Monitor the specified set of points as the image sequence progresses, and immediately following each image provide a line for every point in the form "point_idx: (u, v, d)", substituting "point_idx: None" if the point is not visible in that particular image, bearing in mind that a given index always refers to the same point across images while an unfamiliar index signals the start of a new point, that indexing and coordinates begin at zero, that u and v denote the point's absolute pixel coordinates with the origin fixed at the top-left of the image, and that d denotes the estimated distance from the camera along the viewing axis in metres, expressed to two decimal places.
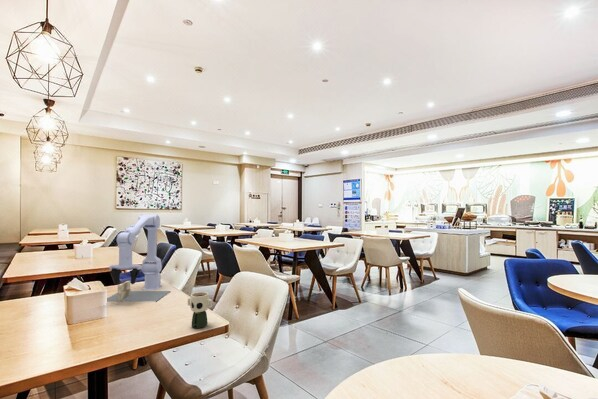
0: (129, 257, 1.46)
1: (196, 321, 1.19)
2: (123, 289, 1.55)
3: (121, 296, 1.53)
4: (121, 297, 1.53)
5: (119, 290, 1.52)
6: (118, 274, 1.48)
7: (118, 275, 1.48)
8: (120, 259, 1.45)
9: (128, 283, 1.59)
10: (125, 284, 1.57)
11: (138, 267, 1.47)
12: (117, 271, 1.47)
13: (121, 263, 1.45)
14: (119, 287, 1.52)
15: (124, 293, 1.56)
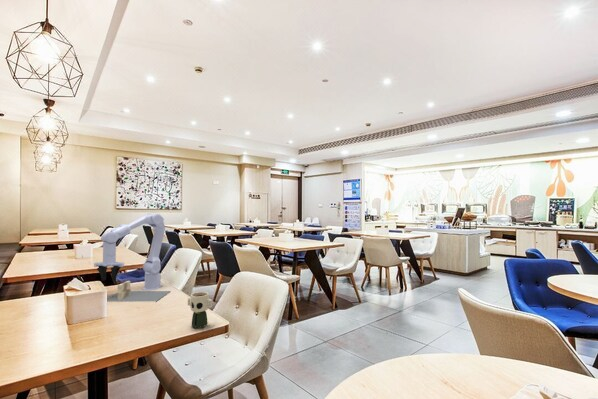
0: (112, 255, 1.56)
1: (196, 321, 1.19)
2: (123, 289, 1.55)
3: (121, 296, 1.53)
4: (121, 297, 1.53)
5: (119, 290, 1.52)
6: (104, 271, 1.57)
7: (104, 272, 1.57)
8: (104, 257, 1.54)
9: (128, 283, 1.59)
10: (125, 284, 1.57)
11: (121, 264, 1.56)
12: (103, 268, 1.56)
13: (105, 261, 1.54)
14: (119, 287, 1.52)
15: (124, 293, 1.56)
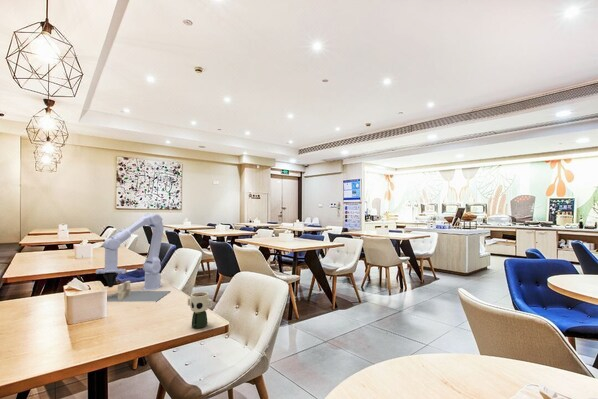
0: (114, 262, 1.56)
1: (196, 321, 1.19)
2: (123, 289, 1.55)
3: (121, 296, 1.53)
4: (121, 297, 1.53)
5: (119, 290, 1.52)
6: None
7: None
8: (106, 264, 1.54)
9: (128, 283, 1.59)
10: (125, 284, 1.57)
11: (123, 271, 1.56)
12: None
13: (106, 268, 1.54)
14: (119, 287, 1.52)
15: (124, 293, 1.56)
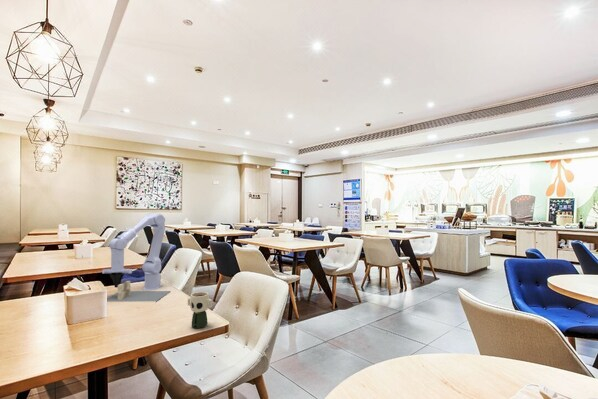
0: (121, 262, 1.56)
1: (196, 321, 1.19)
2: (123, 289, 1.55)
3: (121, 296, 1.53)
4: (121, 297, 1.53)
5: (119, 290, 1.52)
6: None
7: None
8: (112, 264, 1.54)
9: (128, 283, 1.59)
10: (125, 284, 1.57)
11: (129, 271, 1.56)
12: None
13: (113, 268, 1.54)
14: (119, 287, 1.52)
15: (124, 293, 1.56)
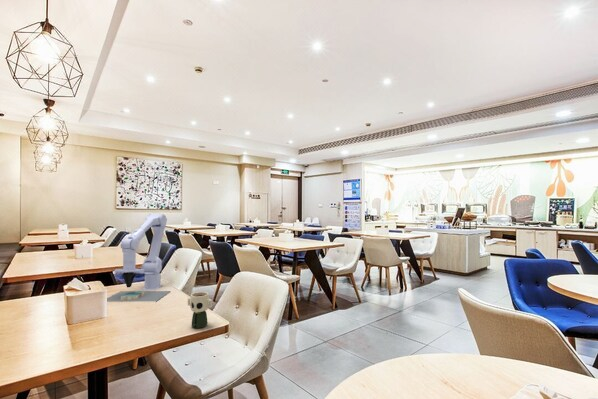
0: (133, 262, 1.56)
1: (196, 321, 1.19)
2: None
3: None
4: None
5: (130, 298, 1.52)
6: None
7: None
8: (124, 264, 1.55)
9: None
10: None
11: (141, 271, 1.56)
12: None
13: (125, 268, 1.54)
14: (133, 298, 1.52)
15: None
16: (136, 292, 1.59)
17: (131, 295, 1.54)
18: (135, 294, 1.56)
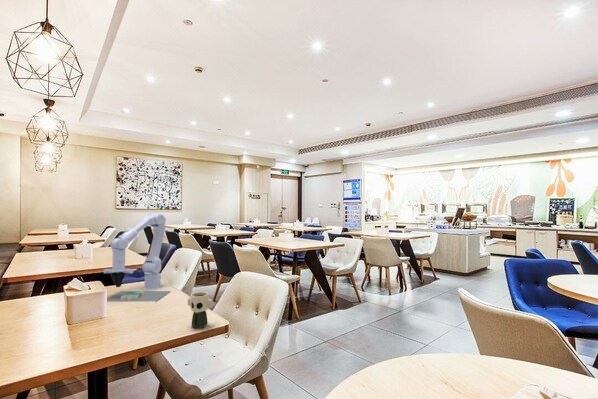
0: (122, 262, 1.56)
1: (196, 321, 1.19)
2: None
3: None
4: None
5: (130, 298, 1.52)
6: None
7: None
8: (113, 263, 1.54)
9: None
10: None
11: (130, 271, 1.56)
12: None
13: (114, 268, 1.54)
14: (133, 298, 1.52)
15: None
16: (136, 292, 1.59)
17: (131, 295, 1.54)
18: (135, 294, 1.56)
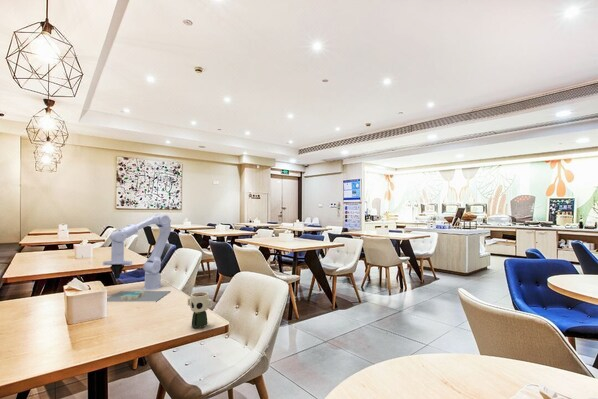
0: (121, 254, 1.60)
1: (196, 321, 1.19)
2: None
3: None
4: None
5: (130, 298, 1.52)
6: None
7: None
8: (112, 256, 1.58)
9: None
10: None
11: (129, 263, 1.60)
12: None
13: (113, 260, 1.58)
14: (133, 298, 1.52)
15: None
16: (136, 292, 1.59)
17: (131, 295, 1.54)
18: (135, 294, 1.56)
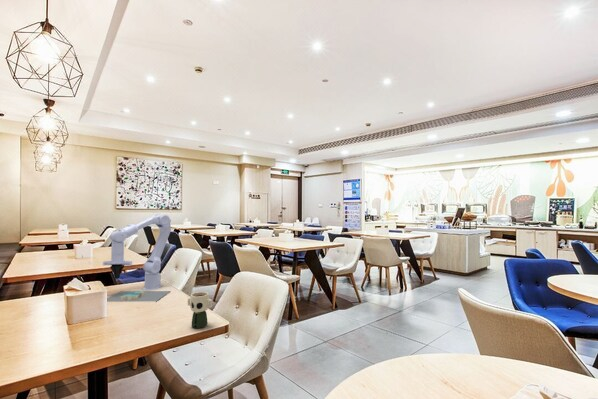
0: (121, 254, 1.60)
1: (196, 321, 1.19)
2: None
3: None
4: None
5: (130, 298, 1.52)
6: None
7: None
8: (112, 256, 1.58)
9: None
10: None
11: (129, 263, 1.60)
12: None
13: (113, 260, 1.58)
14: (133, 298, 1.52)
15: None
16: (136, 292, 1.59)
17: (131, 295, 1.54)
18: (135, 294, 1.56)
